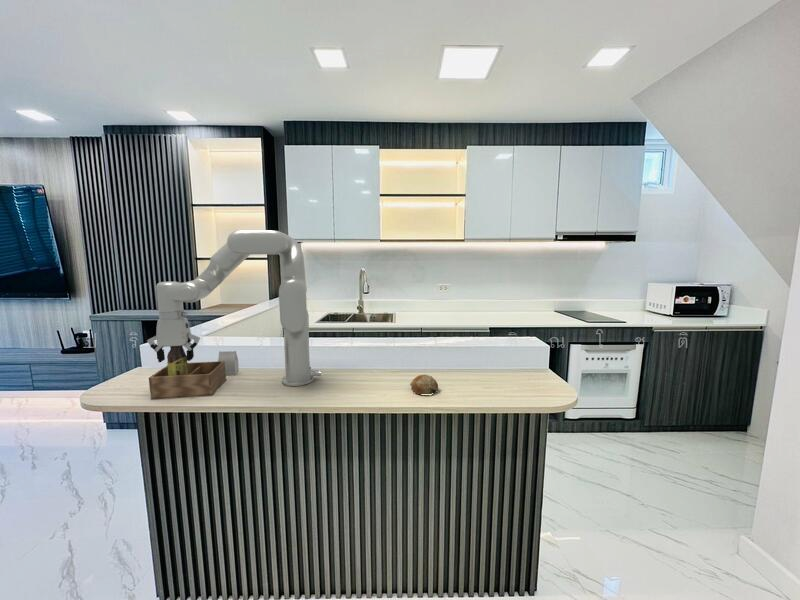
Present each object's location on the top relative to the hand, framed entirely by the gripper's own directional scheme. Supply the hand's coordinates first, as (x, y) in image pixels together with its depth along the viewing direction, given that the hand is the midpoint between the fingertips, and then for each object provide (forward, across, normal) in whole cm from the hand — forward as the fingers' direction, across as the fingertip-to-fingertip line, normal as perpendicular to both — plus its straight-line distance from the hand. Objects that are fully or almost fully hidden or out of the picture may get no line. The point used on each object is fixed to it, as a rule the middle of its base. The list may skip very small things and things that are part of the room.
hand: (176, 360), depth 124 cm
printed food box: (+12, -13, -14) cm, 23 cm away
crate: (+12, -4, 0) cm, 12 cm away
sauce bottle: (+11, 0, 0) cm, 11 cm away
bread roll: (+12, -92, +15) cm, 94 cm away
